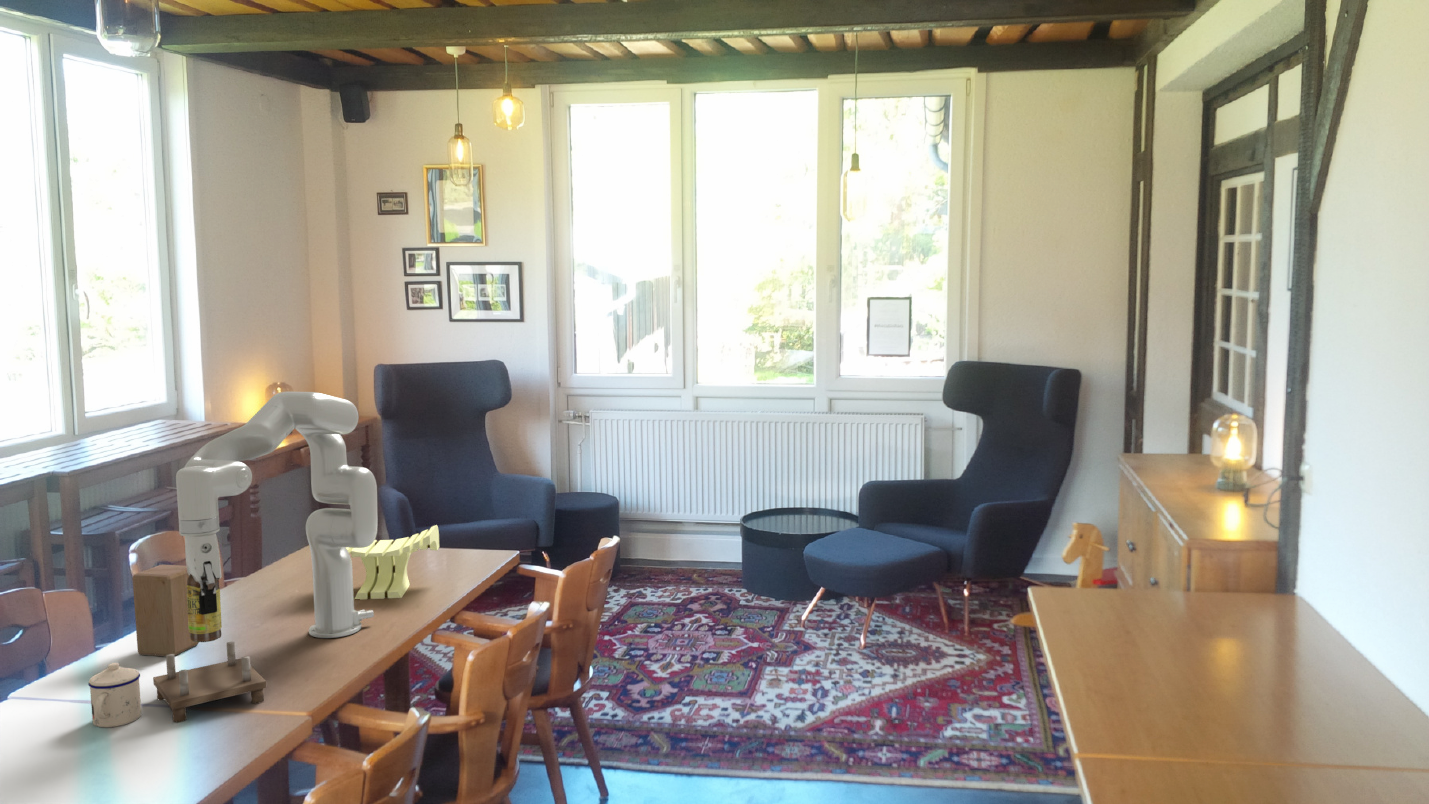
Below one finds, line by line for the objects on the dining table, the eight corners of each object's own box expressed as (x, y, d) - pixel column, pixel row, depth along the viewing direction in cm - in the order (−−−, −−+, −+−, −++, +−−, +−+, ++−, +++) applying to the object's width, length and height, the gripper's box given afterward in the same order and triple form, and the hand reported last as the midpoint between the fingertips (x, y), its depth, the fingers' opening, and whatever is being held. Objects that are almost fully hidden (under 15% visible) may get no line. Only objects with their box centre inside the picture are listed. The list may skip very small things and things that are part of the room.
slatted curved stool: (440, 580, 309) (438, 522, 307) (432, 596, 294) (429, 534, 292) (336, 584, 306) (333, 525, 304) (322, 600, 290) (319, 538, 288)
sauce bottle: (183, 640, 218) (176, 548, 216) (211, 632, 223) (205, 541, 221) (201, 645, 215) (194, 551, 213) (229, 637, 220) (223, 545, 218)
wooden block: (172, 658, 246) (167, 576, 243) (136, 655, 248) (130, 574, 245) (201, 644, 255) (196, 565, 253) (166, 641, 257) (160, 563, 255)
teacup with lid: (104, 711, 215) (100, 657, 214) (150, 709, 216) (146, 655, 214) (75, 736, 203) (70, 678, 202) (124, 733, 204) (119, 676, 203)
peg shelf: (243, 677, 233) (241, 636, 232) (267, 701, 219) (264, 658, 218) (154, 697, 222) (151, 654, 221) (173, 724, 208) (170, 678, 207)
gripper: (229, 530, 212) (234, 615, 214) (208, 516, 225) (213, 596, 227) (189, 535, 207) (194, 622, 209) (170, 521, 221) (175, 603, 223)
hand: (204, 608), depth 218 cm, fingers closed on sauce bottle, 6 cm apart
